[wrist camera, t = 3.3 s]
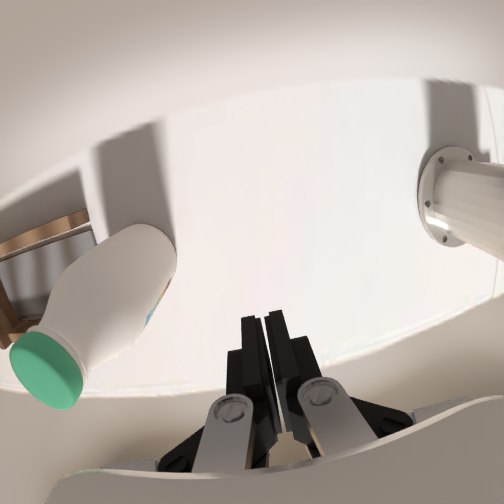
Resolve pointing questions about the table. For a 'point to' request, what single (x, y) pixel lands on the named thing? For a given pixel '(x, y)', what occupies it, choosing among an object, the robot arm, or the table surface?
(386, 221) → the table surface
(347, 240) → the table surface
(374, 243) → the table surface
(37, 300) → the rest
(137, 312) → the milk bottle
